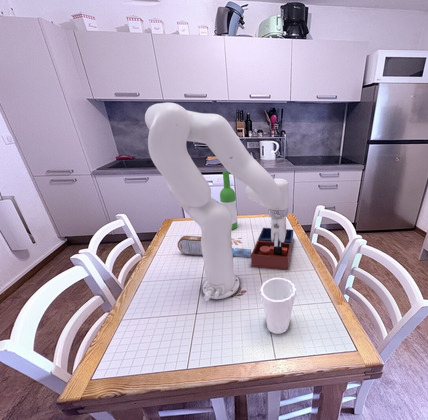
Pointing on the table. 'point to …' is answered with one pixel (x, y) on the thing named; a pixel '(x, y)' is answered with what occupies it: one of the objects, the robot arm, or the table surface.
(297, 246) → the table surface
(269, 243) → the red bin
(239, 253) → the blue spoon
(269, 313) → the foam cup
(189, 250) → the tin
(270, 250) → the red spoon
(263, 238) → the blue bin
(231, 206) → the wine bottle
